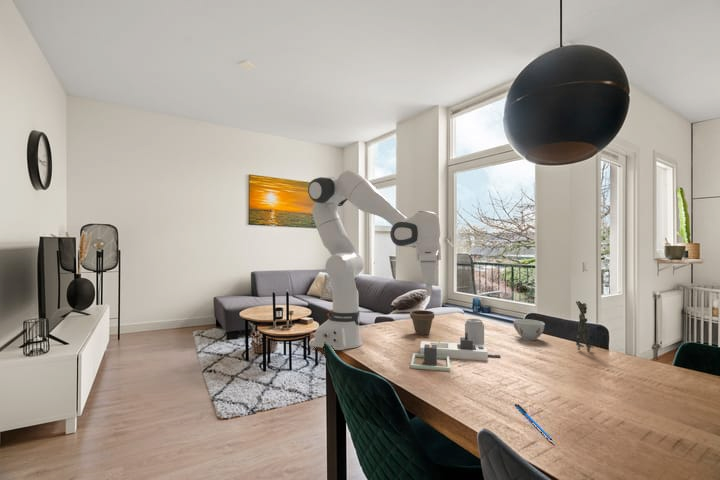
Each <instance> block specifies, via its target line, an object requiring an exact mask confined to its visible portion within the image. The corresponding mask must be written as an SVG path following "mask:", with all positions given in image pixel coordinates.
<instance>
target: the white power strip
mask: <svg viewBox="0 0 720 480" xmlns="http://www.w3.org/2000/svg"><path fill="white" fill-rule="evenodd" d="M425 344H427V345H437V355H446V356H449V359H462V360H476V361H488V359H489V358H494V359H501V354H489V353H488V350H487V347H486V345H485V344H484V345H476V344H473V350H464V349H460V342H459V343H457V342H445V341H444V342H441V341H427V340H421V341H420V347H419V354H424V346H425Z"/></svg>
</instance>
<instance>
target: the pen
mask: <svg viewBox="0 0 720 480" xmlns="http://www.w3.org/2000/svg"><path fill="white" fill-rule="evenodd" d="M514 406H515V408H516V407H517V408H518V409H519V410H520V411H521V412H522V413H523V414H524V415H525V416H526V417H527V418H528V419H529V420H530V421H531V422H532V423H534V424H535V425H536V426H537V427H538V428H539V429H540V430H541V431H542V432H543V433H544V434H545V435H546V436H547V437H548V438H549V439H550V440H552V439H553V438H552V437H551V436H550V435H549V434H548V433H547V432H546V431H545V430H544V429H543V428H542V427H541V426H540V425H539V424H538V422H536V421H535V420H534V419H533V418H532V417H531V416H530V414H528V412H527V411H526V410H525V409H524V408H523V407H522V406H521V405H520V404H517V403H515V404H514ZM517 408H516V409H517ZM518 409H517V410H518ZM519 410H518V411H519ZM520 411H519V412H520ZM521 412H520V413H521ZM522 413H521V414H522ZM523 414H522V415H523ZM524 415H523V416H524ZM525 416H524V417H525ZM526 417H525V418H526ZM527 418H526V419H527ZM528 419H527V420H528ZM529 420H528V421H529ZM530 421H529V422H530ZM531 422H530V423H531ZM532 423H531V424H532Z"/></svg>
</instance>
